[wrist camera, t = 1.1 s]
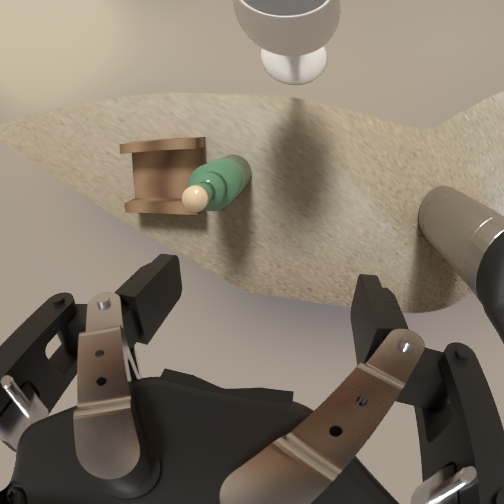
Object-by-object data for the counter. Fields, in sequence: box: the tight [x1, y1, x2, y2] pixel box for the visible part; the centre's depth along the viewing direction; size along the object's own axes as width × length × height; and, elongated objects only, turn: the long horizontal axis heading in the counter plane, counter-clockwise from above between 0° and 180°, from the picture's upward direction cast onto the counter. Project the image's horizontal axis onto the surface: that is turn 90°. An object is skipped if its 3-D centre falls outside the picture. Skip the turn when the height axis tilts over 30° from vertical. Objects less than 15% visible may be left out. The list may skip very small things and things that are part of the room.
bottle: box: [182, 155, 251, 212], centre depth 31 cm, size 5×5×15 cm
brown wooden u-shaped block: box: [120, 137, 206, 215], centre depth 37 cm, size 12×10×4 cm
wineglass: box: [233, 0, 340, 85], centre depth 20 cm, size 9×9×21 cm
